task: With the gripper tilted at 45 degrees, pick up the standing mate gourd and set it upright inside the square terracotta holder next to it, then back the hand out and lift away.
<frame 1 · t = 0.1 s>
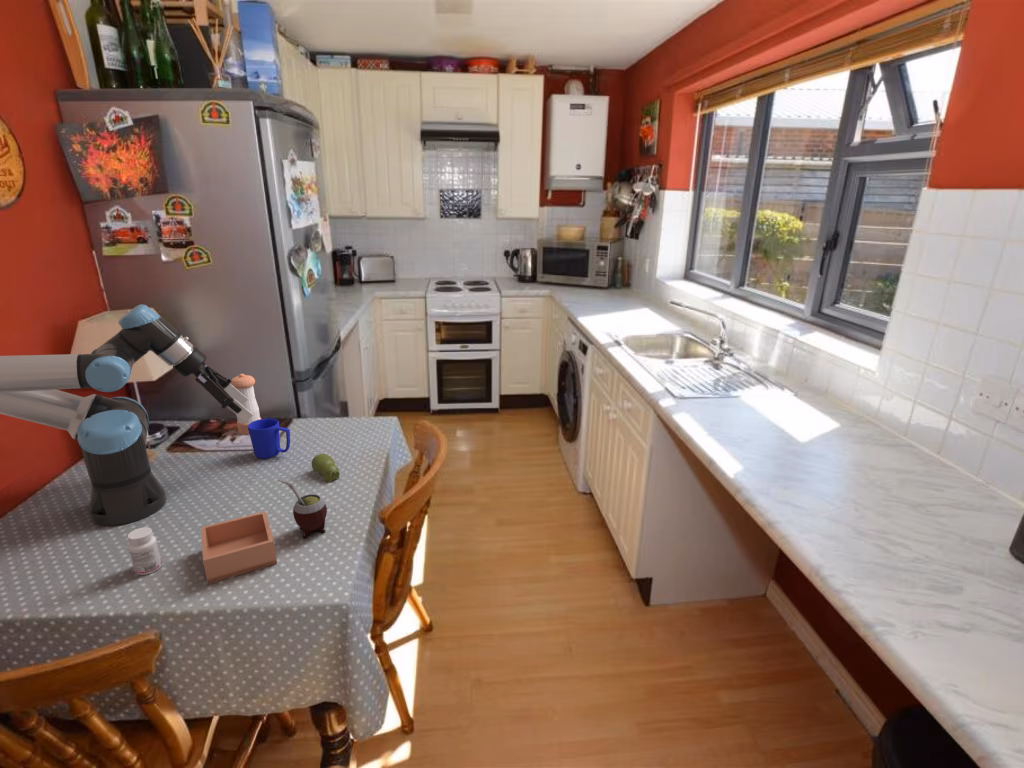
hand: (246, 410, 148), 15 cm above the table, tool tilted 35°, fingers open, 13 cm apart
mate gourd: (310, 532, 120), on the table
holder: (240, 556, 112), on the table
mug: (274, 456, 155), on the table
pill bottle: (149, 568, 108), on the table
pear: (327, 475, 145), on the table
pepper shaker: (250, 430, 172), on the table
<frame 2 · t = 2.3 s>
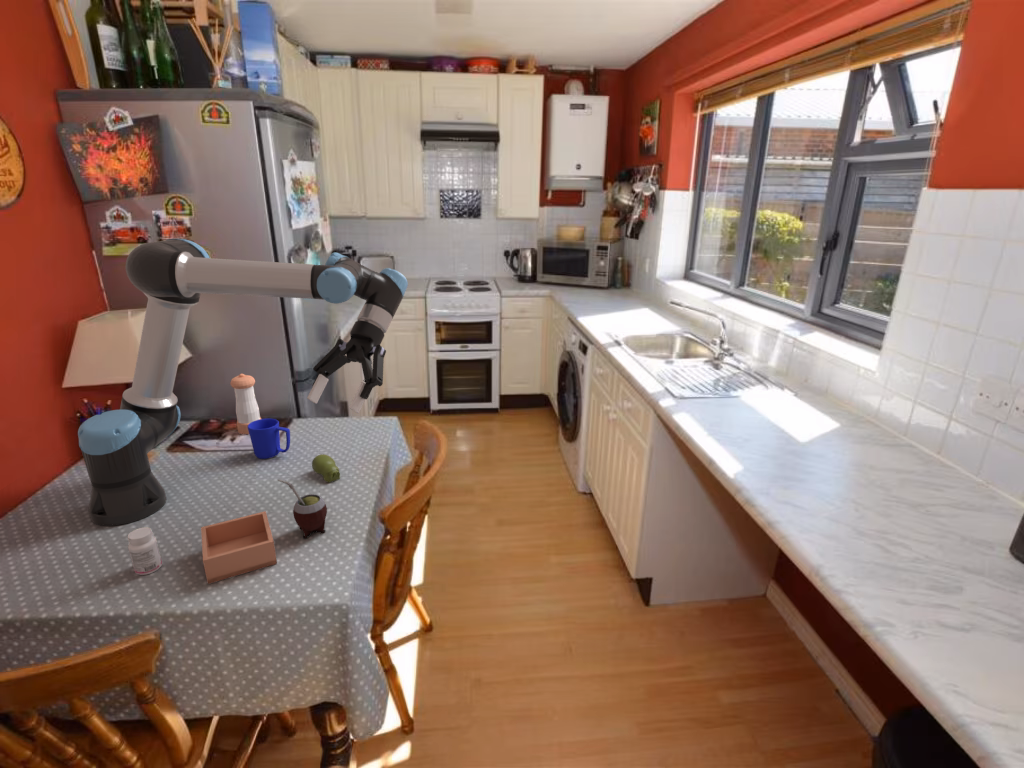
hand: (332, 405, 121), 27 cm above the table, tool tilted 45°, fingers open, 13 cm apart
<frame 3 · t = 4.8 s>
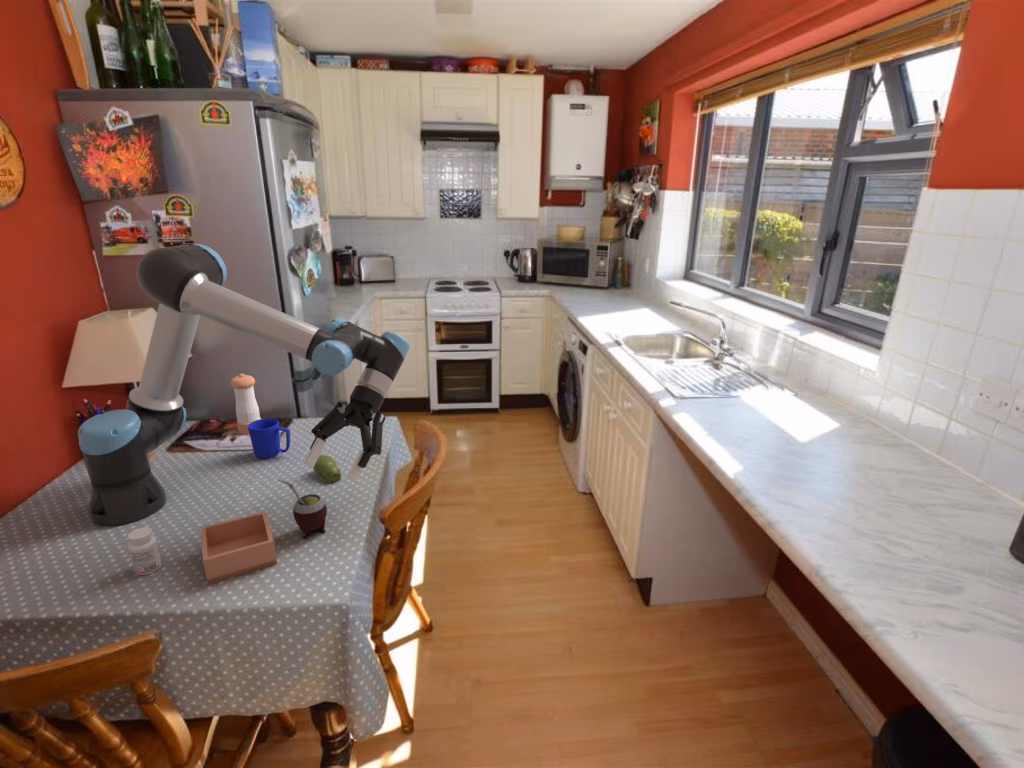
hand: (329, 472, 121), 12 cm above the table, tool tilted 45°, fingers open, 13 cm apart
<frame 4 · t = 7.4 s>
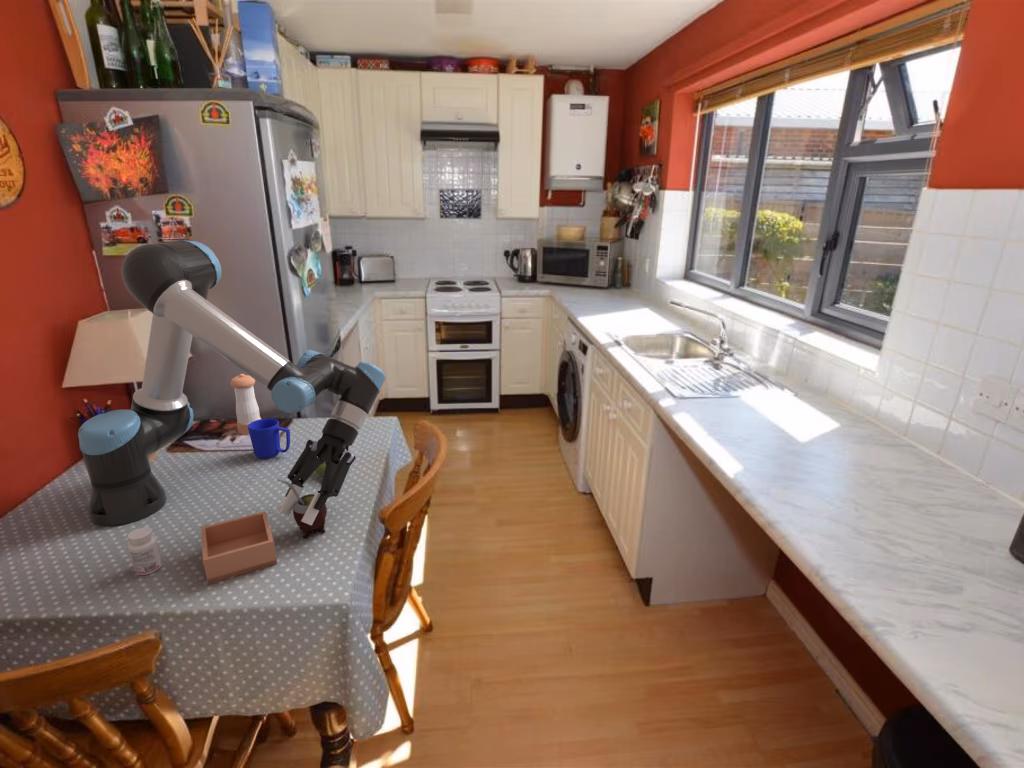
hand: (295, 518, 115), 6 cm above the table, tool tilted 45°, fingers closed on mate gourd, 7 cm apart
mate gourd: (310, 532, 120), on the table, touching gripper
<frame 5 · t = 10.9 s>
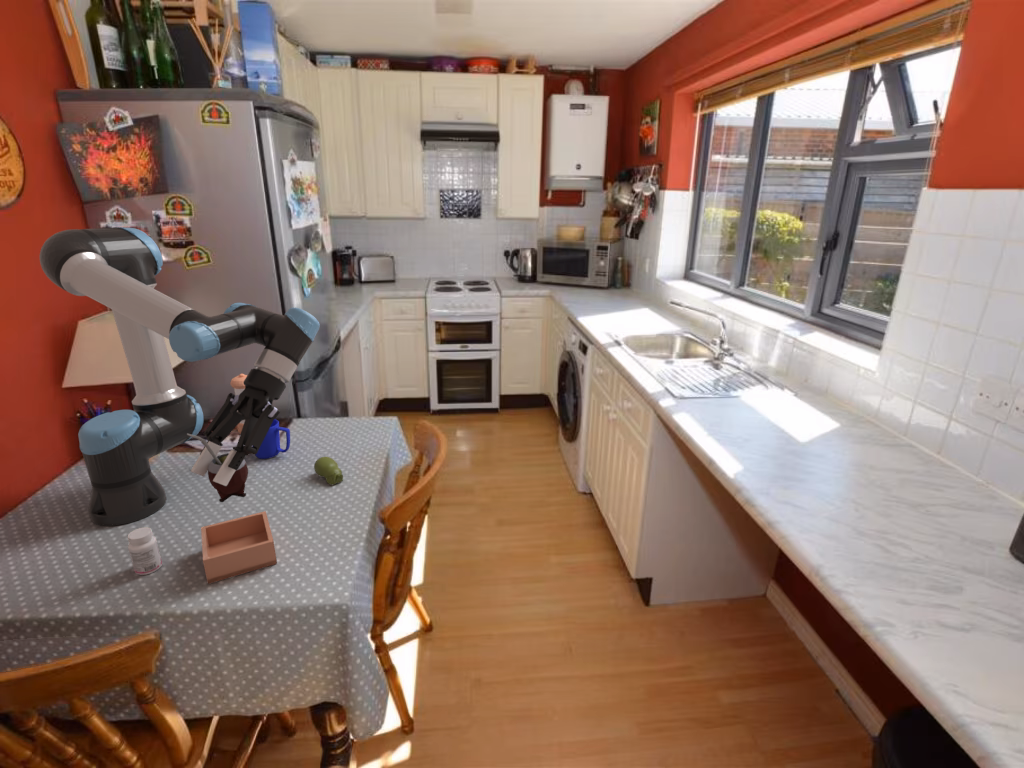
hand: (208, 478, 102), 20 cm above the table, tool tilted 45°, fingers closed on mate gourd, 6 cm apart
mate gourd: (229, 495, 107), point 14 cm above the table, touching gripper
when the fingers open (8 cm above the table, at t = 14.5 s): mate gourd drops 1 cm, resting on holder.
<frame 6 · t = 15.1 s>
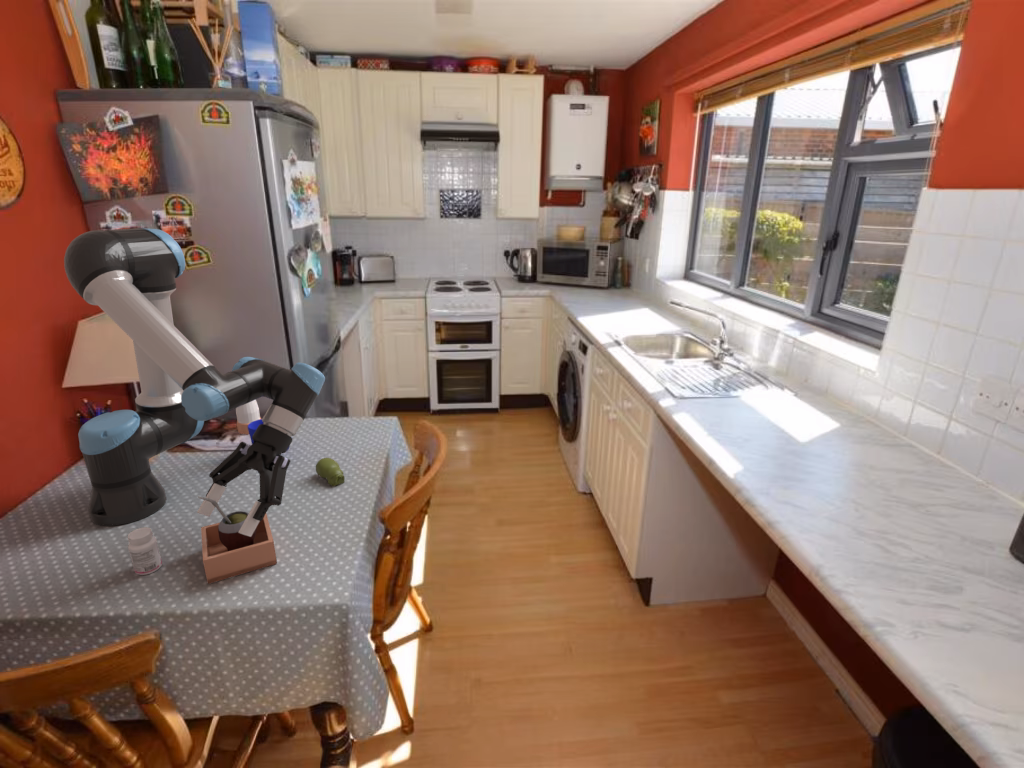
hand: (223, 524, 107), 9 cm above the table, tool tilted 45°, fingers open, 13 cm apart
mate gourd: (239, 552, 112), point 1 cm above the table, touching holder
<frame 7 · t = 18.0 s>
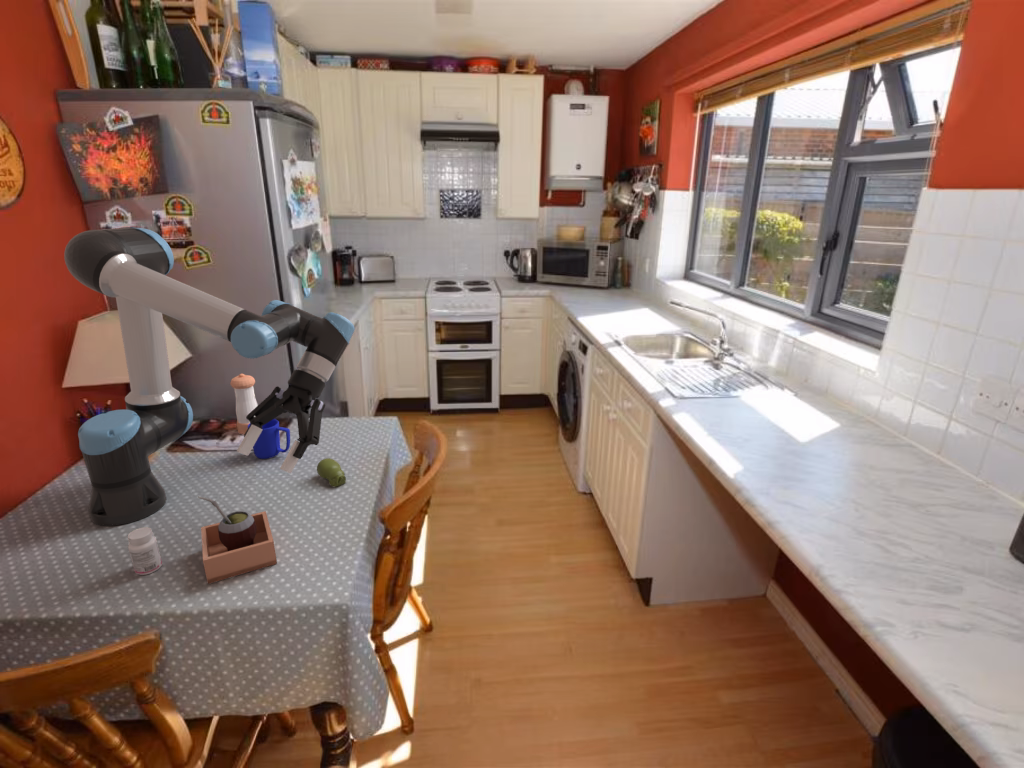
hand: (263, 462, 113), 18 cm above the table, tool tilted 45°, fingers open, 13 cm apart
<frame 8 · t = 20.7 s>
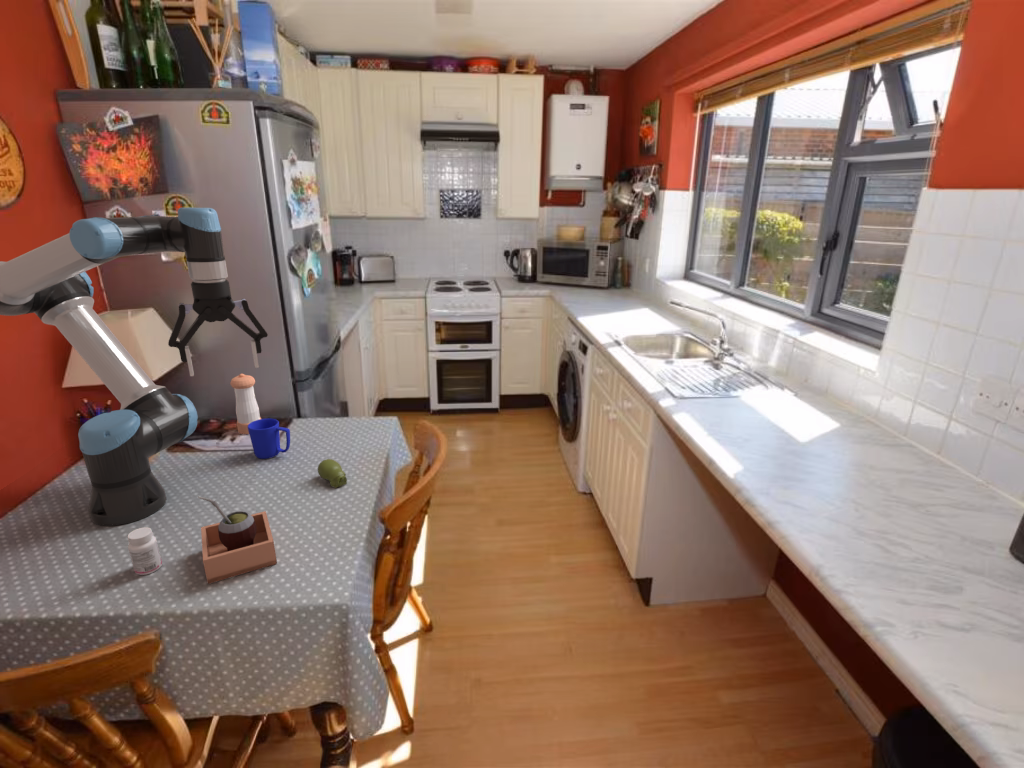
hand: (225, 370, 125), 33 cm above the table, tool pointing down, fingers open, 13 cm apart
at the end: mate gourd inside the target area on the holder (0.4 cm from its centre), point 0.8 cm above the holder's base; mate gourd tilted 0°; the gripper is holding nothing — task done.
